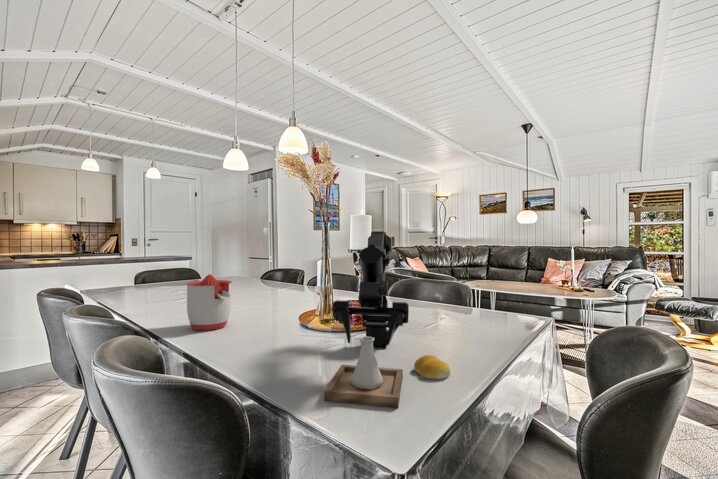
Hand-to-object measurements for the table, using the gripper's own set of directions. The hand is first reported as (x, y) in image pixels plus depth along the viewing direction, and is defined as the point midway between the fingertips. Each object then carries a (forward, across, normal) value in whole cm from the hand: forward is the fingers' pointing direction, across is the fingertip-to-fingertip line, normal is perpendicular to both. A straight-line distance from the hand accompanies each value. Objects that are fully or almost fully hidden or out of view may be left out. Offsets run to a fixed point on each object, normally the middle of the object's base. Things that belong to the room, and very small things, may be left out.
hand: (368, 343), depth 78 cm
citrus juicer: (-22, -63, +36) cm, 76 cm away
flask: (+8, 0, +3) cm, 9 cm away
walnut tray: (+9, 0, +4) cm, 10 cm away
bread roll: (+1, +15, +12) cm, 19 cm away
